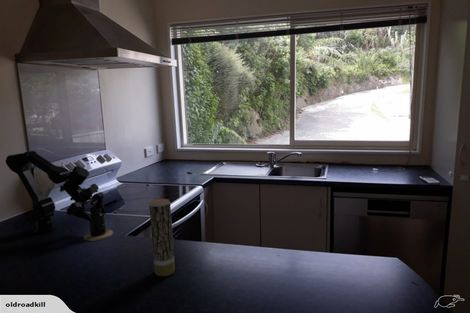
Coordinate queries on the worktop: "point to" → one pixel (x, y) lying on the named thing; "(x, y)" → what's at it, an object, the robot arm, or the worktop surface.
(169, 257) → the pale patterned cylinder
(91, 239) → the cork trivet
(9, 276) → the worktop surface
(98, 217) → the supplement bottle
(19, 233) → the worktop surface
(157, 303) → the worktop surface
